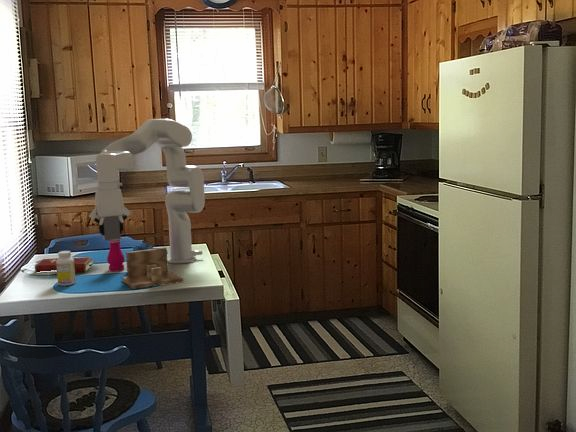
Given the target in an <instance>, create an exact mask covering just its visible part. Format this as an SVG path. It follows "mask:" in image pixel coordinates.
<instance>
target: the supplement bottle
mask: <svg viewBox="0 0 576 432" xmlns="http://www.w3.org/2000/svg"><path fill="white" fill-rule="evenodd" d="M57 254H58V258H59V259H58V258H56V259H57V261H56V265H57V273H56V275H57V284H58V285H59V286H64V287H65V286H66V287H67V286H72V285H74V284H76V272H75V267H74V259H73V258H74V257H72V253H71V250H61V251H59V252H58V253H57Z"/></svg>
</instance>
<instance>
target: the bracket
mask: <svg viewBox="0 0 576 432" xmlns="http://www.w3.org/2000/svg"><path fill="white" fill-rule="evenodd" d="M103 225H104V233H105V235H104V236H102V240H104V241H109V240H114V239H120V240H121V238H122V235H121V236H120V221H119V217H118V216H114V217H104V220H103Z"/></svg>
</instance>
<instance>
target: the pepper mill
mask: <svg viewBox="0 0 576 432" xmlns="http://www.w3.org/2000/svg"><path fill="white" fill-rule="evenodd" d="M122 234H123V232H122V233H120V236H121V237H122ZM121 241H122V240H121V239H114V240H108V242H109V251H108V254H107V258H106V260H107V261H106V262H107V263H108V264H109V266H108V270H109V271H110V272H120V271H124V269H125V265H124V264H123V263H125V260H126V259H125V256H124V255H125V254H124V253H123V251H122V248H121Z"/></svg>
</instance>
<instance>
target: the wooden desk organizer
mask: <svg viewBox="0 0 576 432" xmlns="http://www.w3.org/2000/svg"><path fill="white" fill-rule="evenodd" d="M131 251H132V252H131ZM131 251H126V252H125V254H126V255H125V257H126V259H125V260H126V271H127V272H126V274H127V276H122V280H123V281H124V284H126V285H127V284H128V285H129V286H128V285H127V286H128V287H130V288H131V290H137V289H136V288H139V289H144V288H143V287H146V288H150V287H149V286H152V287H155V286H154V285H159V286H162V285H161V284H166V285H170V283H172V284H177V283H176V282H179V283H184V278H183V277H182V276H180V275H179V274H177V273H175V272H174V271H172V270H169V266H168V262H167V259H168V249H167V247H158V248H157V247H156V248H153V249H148V250H140V251H133V250H131ZM122 280H121V281H122ZM123 281H122V282H123Z"/></svg>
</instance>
